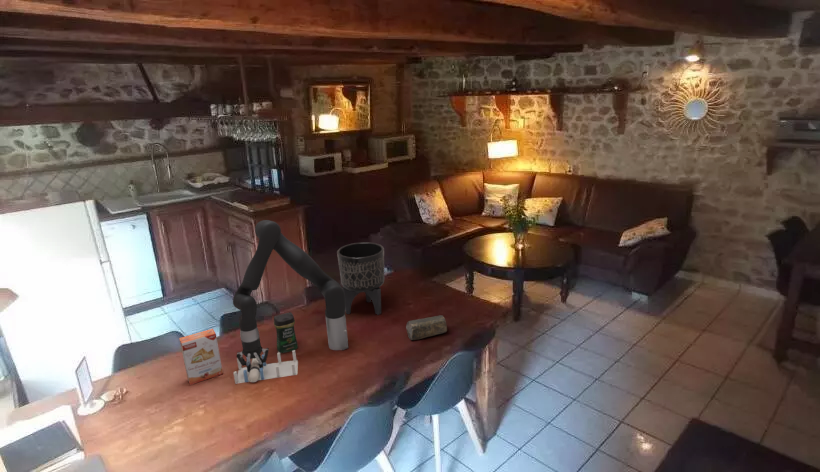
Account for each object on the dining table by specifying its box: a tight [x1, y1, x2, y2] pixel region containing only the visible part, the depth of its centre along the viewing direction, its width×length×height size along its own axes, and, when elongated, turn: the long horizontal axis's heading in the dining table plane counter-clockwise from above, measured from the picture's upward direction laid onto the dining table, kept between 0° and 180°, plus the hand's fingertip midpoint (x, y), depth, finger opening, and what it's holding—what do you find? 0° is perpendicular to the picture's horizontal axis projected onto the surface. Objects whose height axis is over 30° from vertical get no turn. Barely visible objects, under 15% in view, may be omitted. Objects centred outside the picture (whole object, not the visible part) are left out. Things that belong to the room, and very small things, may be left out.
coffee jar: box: [273, 311, 299, 354], centre depth 229 cm, size 10×8×19 cm
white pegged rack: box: [233, 349, 299, 385], centre depth 212 cm, size 26×13×6 cm, turn 101°
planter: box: [336, 241, 385, 316], centre depth 264 cm, size 25×25×36 cm
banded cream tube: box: [248, 356, 262, 383], centre depth 212 cm, size 16×4×4 cm, turn 11°
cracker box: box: [179, 328, 224, 386], centre depth 209 cm, size 14×6×21 cm, turn 124°
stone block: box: [405, 314, 448, 341], centre depth 239 cm, size 20×9×10 cm
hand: (255, 371), depth 212 cm, fingers closed on banded cream tube, 4 cm apart
